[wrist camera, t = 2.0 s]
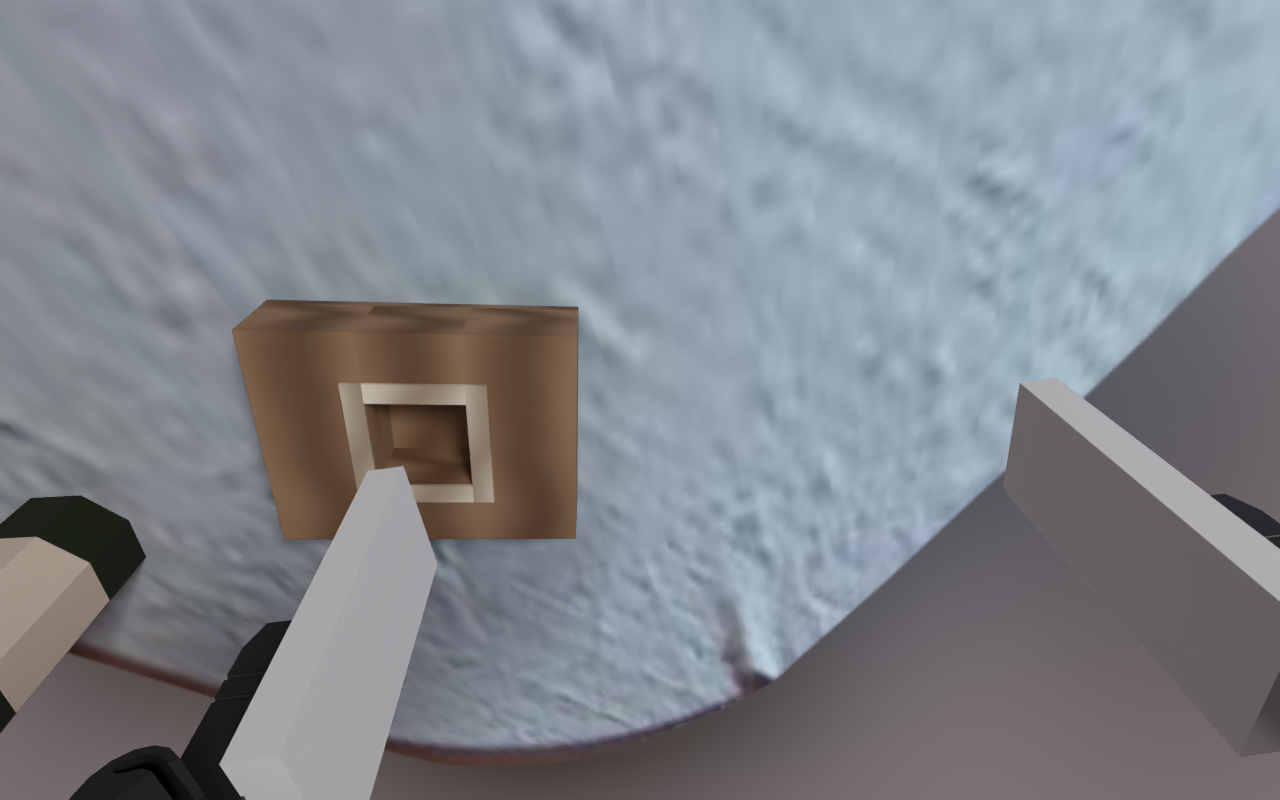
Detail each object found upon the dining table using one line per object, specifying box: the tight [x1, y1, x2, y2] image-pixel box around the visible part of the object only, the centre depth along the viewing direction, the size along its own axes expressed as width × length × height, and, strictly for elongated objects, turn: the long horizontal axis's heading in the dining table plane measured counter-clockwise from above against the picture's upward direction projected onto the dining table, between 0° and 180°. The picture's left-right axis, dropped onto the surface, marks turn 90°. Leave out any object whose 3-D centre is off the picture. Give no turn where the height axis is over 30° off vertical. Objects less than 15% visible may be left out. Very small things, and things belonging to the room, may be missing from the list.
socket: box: [232, 300, 578, 539], centre depth 42 cm, size 18×14×5 cm
